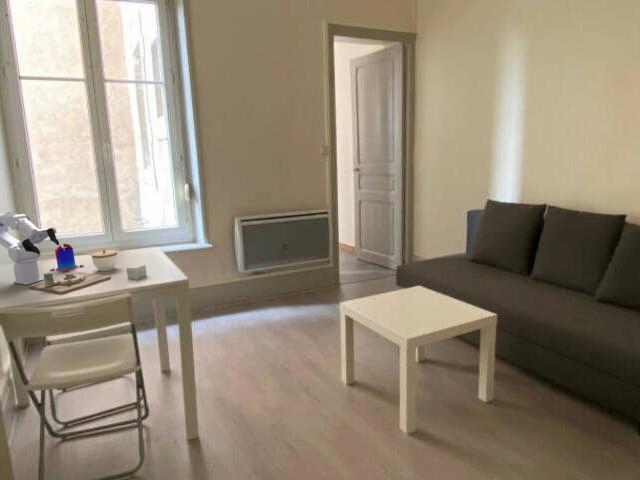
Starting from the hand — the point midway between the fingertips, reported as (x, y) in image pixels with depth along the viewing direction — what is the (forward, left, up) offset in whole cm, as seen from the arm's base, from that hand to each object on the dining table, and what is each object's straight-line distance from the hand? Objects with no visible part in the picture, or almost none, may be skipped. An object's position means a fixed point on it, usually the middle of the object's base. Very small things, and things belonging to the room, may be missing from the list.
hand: (48, 247), depth 182 cm
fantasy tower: (-25, +22, -17) cm, 37 cm away
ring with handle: (0, +5, -15) cm, 16 cm away
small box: (+20, +24, -17) cm, 35 cm away
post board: (0, +7, -17) cm, 18 cm away
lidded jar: (-5, +28, -17) cm, 33 cm away
